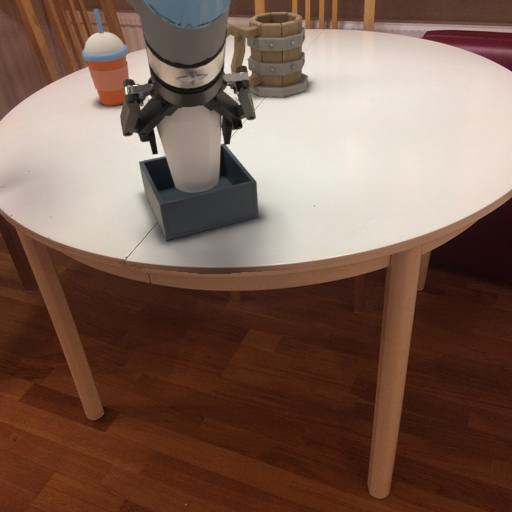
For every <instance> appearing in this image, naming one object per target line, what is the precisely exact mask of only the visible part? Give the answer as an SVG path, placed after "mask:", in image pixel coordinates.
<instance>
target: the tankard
mask: <svg viewBox="0 0 512 512" xmlns="http://www.w3.org/2000/svg"><path fill="white" fill-rule="evenodd" d="M248 26H249V27H245V28H243V27H240V26H236V25H233V24H231V23H229V22H227V37H226V39H227V38H228V37H229V36H230V35H231V36H232V37H233V54H232V59H231V63H230V74H231V73H232V72H236V69H237V67H239V66H243V64H244V59H245V56H246V55H245V54H246V45H247V47H250V55H249V57H248V58H247V65H248V66H247V69H248V70H249V71H251V74H250V75H249V81H250V86H251V89H250V93H253V94H255V95H257V96H258V97H262V98H263V97H265V98H266V97H267V98H286V97H289V96H293V95H296V94H297V95H298V94H300V93H303V92H305V90H306V88H307V86H308V83H309V76H308V75H307V74H305V73H303V68H304V65H305V62H306V52H304V51H303V44H304V42H305V41H306V28H305V27H303V16H302V15H301V14H298V13H294V12H290V11H270V12H264V13H259V14H254V15H253V16H252V17H251V18H250V20H249V21H248Z"/></svg>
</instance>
